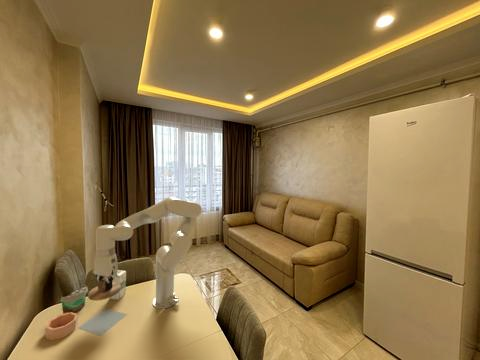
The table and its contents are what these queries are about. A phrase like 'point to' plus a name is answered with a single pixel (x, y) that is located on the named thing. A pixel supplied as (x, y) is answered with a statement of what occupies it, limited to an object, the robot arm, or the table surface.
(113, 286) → the lid
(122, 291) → the syrup box
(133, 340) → the table surface
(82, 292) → the food container
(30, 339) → the table surface
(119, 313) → the mat
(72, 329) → the bowl
